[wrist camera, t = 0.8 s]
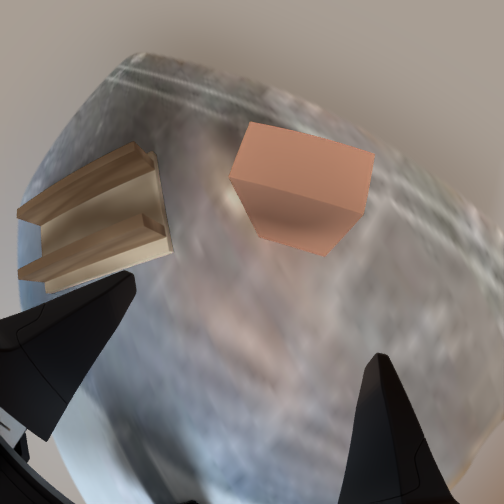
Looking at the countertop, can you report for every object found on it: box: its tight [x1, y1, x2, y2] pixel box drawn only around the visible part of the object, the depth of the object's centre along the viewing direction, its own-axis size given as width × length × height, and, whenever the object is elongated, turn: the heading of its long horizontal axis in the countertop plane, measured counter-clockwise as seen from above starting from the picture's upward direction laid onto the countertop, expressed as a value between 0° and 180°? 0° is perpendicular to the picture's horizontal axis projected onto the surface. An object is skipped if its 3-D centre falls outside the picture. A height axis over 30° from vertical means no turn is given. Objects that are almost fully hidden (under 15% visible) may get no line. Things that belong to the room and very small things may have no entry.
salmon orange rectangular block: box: [229, 122, 375, 257], centre depth 17 cm, size 3×6×12 cm, turn 72°
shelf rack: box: [17, 141, 174, 294], centre depth 23 cm, size 10×16×5 cm, turn 106°
